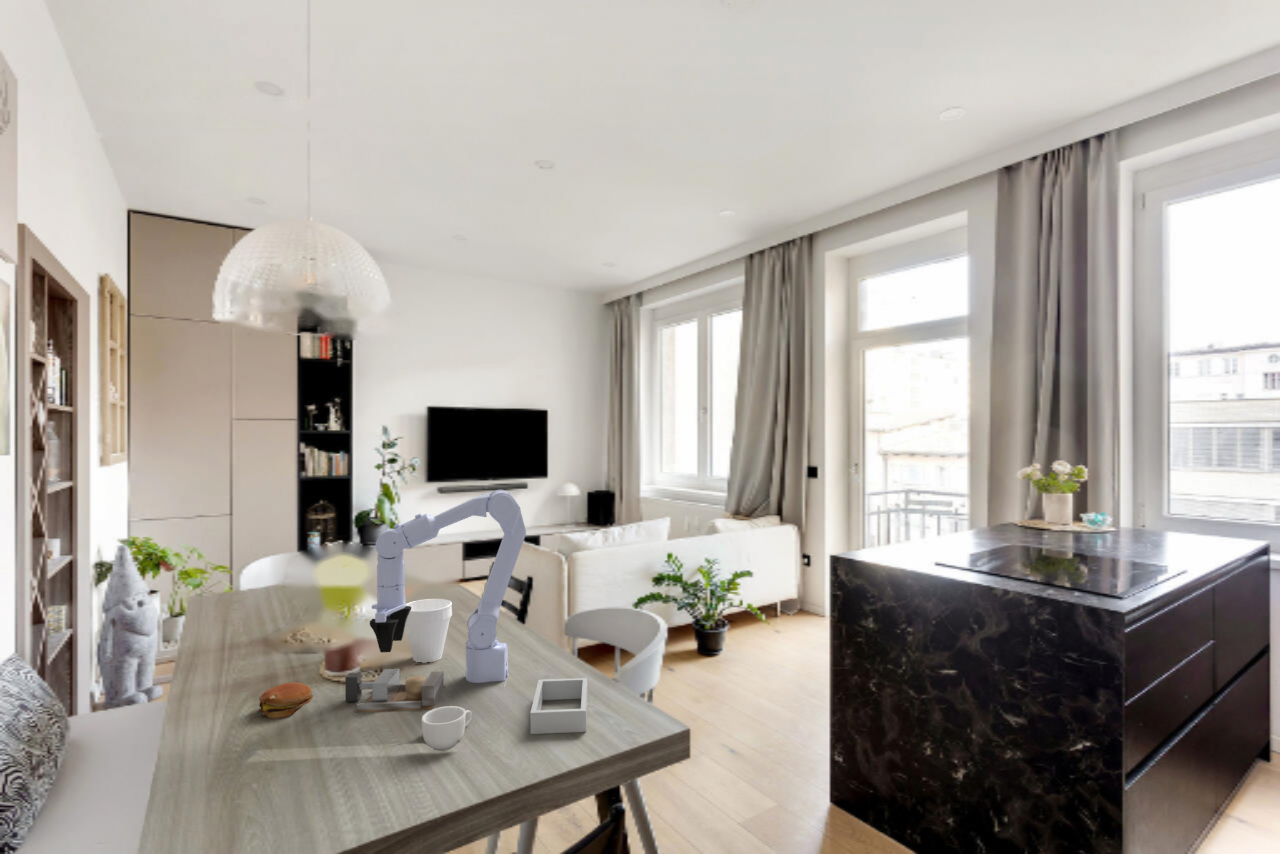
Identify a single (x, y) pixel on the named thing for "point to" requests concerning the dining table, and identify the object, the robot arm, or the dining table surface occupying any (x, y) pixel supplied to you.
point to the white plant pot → (428, 628)
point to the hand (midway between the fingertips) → (391, 645)
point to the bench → (398, 703)
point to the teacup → (444, 726)
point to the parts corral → (564, 717)
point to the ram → (373, 686)
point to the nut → (414, 688)
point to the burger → (284, 700)
